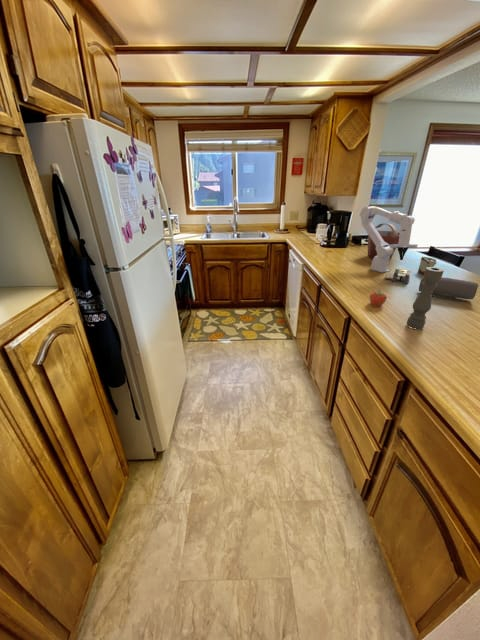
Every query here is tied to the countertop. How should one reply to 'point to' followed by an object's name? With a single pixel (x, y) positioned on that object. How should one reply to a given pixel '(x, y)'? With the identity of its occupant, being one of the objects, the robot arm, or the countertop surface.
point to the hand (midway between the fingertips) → (401, 259)
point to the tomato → (377, 298)
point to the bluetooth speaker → (453, 288)
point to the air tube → (399, 278)
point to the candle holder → (424, 297)
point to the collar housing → (401, 273)
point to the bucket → (387, 236)
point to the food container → (426, 264)
